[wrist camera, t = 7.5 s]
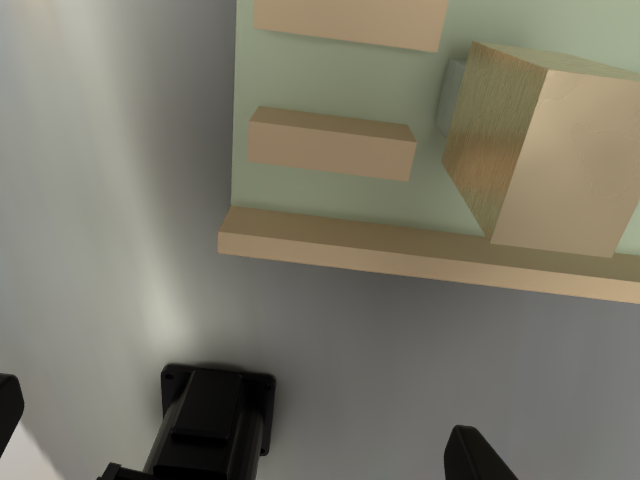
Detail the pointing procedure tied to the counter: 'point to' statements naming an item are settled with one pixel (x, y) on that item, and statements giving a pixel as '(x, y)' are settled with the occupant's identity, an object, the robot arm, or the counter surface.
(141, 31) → the counter surface
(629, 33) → the pitch
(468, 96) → the tan and grey block
